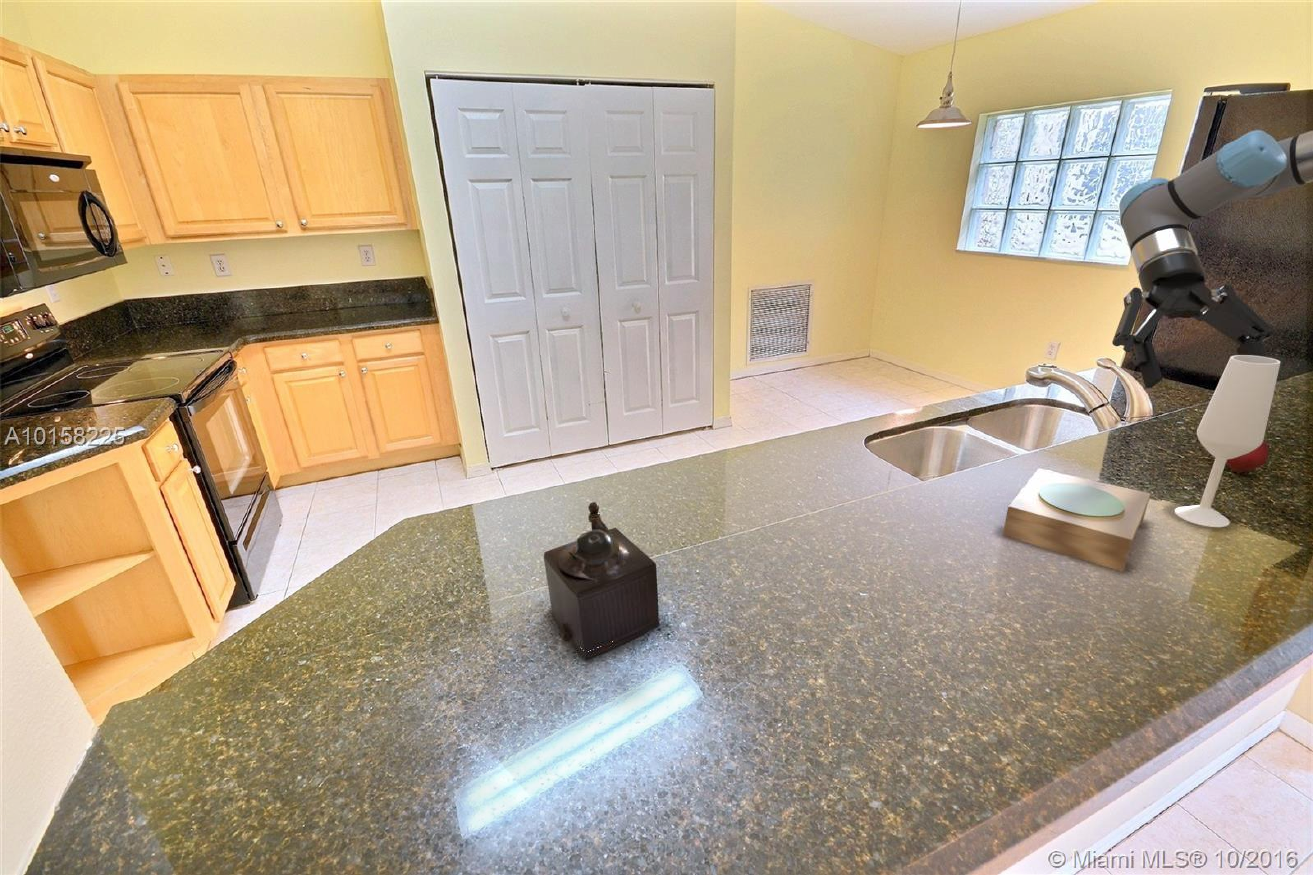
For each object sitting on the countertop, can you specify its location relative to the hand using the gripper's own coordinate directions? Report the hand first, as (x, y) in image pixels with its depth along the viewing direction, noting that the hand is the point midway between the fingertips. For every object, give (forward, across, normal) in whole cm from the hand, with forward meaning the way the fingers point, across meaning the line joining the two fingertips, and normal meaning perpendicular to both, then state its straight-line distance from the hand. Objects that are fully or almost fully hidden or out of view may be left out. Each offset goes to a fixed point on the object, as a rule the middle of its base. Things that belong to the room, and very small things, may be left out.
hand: (1206, 383), depth 84 cm
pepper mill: (+41, +82, +14) cm, 93 cm away
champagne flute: (+18, 0, -9) cm, 20 cm away
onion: (+7, -15, -20) cm, 26 cm away
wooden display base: (+21, +19, -5) cm, 29 cm away
